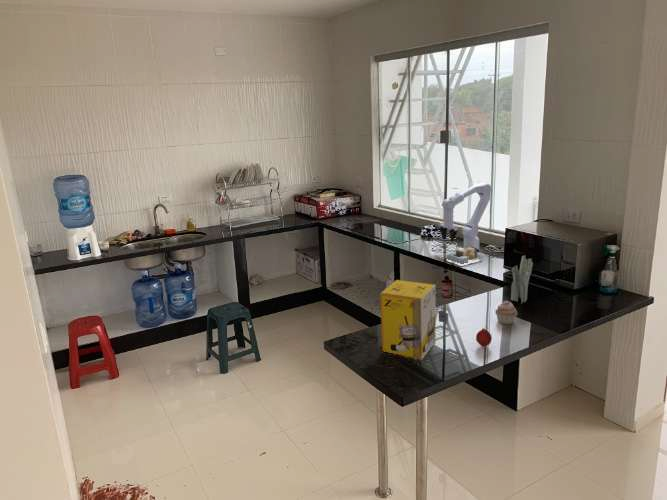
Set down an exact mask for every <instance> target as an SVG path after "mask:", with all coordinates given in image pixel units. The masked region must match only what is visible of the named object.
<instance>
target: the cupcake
mask: <svg viewBox="0 0 667 500" xmlns="http://www.w3.org/2000/svg"><path fill="white" fill-rule="evenodd" d="M495 315H496V316H497V317H496V318H497V322H498V323H499V324H501V325H506V326H507V325H508V326H509V325H512V324H514V322H515V319H516V317H517V316H518V311H517V309H516V308H515V306H514V304H513V303H512V302H511V301H509V300H504V301H502V303H501V304H499V305H498V306H497V308H496V309H495Z"/></svg>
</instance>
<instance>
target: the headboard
mask: <svg viewBox="0 0 667 500" xmlns="http://www.w3.org/2000/svg"><path fill="white" fill-rule="evenodd" d="M446 259H448V260H451V261H454V262H457V263H460V264H464V263H468V257H466V256H462V257H456V252H450V253H447V254H446ZM470 260H472V261H473V260H474V261H475V260H477V261H480V260H482V259H480V258H478V257H477V258H474V259H470Z"/></svg>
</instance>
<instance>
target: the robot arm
mask: <svg viewBox="0 0 667 500" xmlns="http://www.w3.org/2000/svg"><path fill="white" fill-rule="evenodd" d="M492 191H493V188H492V185H491V184H490V183H485V182H480V181H478V182H476V183H474V184H473V185H472V186H471V187H469V188H468V189H466V190H464V191H463V192H456V193H455V194H454V195H453V196H450V197H448V198H445V199H443V201H442V203H441V206H442V208H443V222H442V223H439V228H438V230H439V232H440V234H441V237H442V239H443V240H444V239H447V233H448V232H449V237H450V242H454V241H455V238H456V236H457V234H458V232H459V230H458V227H457V226H455V225H454V209H455V208H456V206H457V205H459V204H461V203H463V202H464V200H465V199H466V198H467V197H469V196H472V195H473V194H478V196H479V201H478V203H477V205H476V207H475V209H474V211H473V214H472V216H471V218H470V219H469V221H468V222H466V223H465V225H464V226H463V227H462V228H461V234H462V235H463V249H465V248H469V247H475V248H477V249H480V238H479V237H478V234H479V229H480V227H479V223H480V221H481V219H482V217H483V215H484V213H485V211H486V208H487V207H488V204H489V203H490V200H491V195H492ZM447 231H448V232H447Z"/></svg>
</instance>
